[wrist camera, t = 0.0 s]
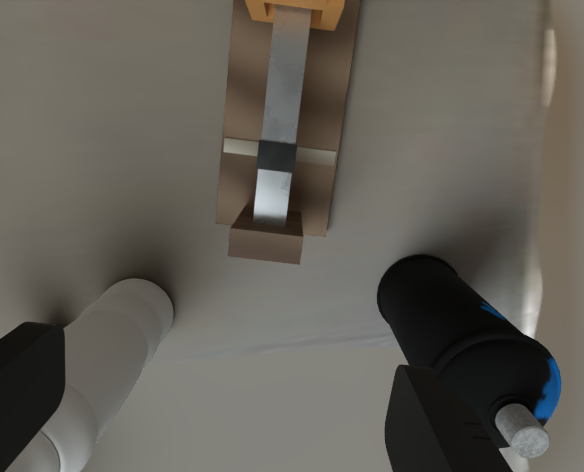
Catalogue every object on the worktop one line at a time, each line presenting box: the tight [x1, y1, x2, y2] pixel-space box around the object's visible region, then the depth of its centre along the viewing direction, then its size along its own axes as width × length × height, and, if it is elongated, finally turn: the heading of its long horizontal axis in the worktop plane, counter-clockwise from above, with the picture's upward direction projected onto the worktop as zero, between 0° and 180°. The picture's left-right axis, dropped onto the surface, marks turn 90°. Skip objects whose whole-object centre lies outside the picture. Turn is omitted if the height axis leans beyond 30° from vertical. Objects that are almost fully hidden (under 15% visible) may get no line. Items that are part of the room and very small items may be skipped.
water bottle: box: [5, 278, 174, 472], centre depth 29 cm, size 7×7×25 cm
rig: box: [216, 0, 361, 265], centre depth 31 cm, size 24×10×10 cm, turn 173°
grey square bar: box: [253, 4, 312, 227], centre depth 29 cm, size 20×3×3 cm, turn 173°
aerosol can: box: [377, 255, 561, 458], centre depth 31 cm, size 8×8×20 cm
